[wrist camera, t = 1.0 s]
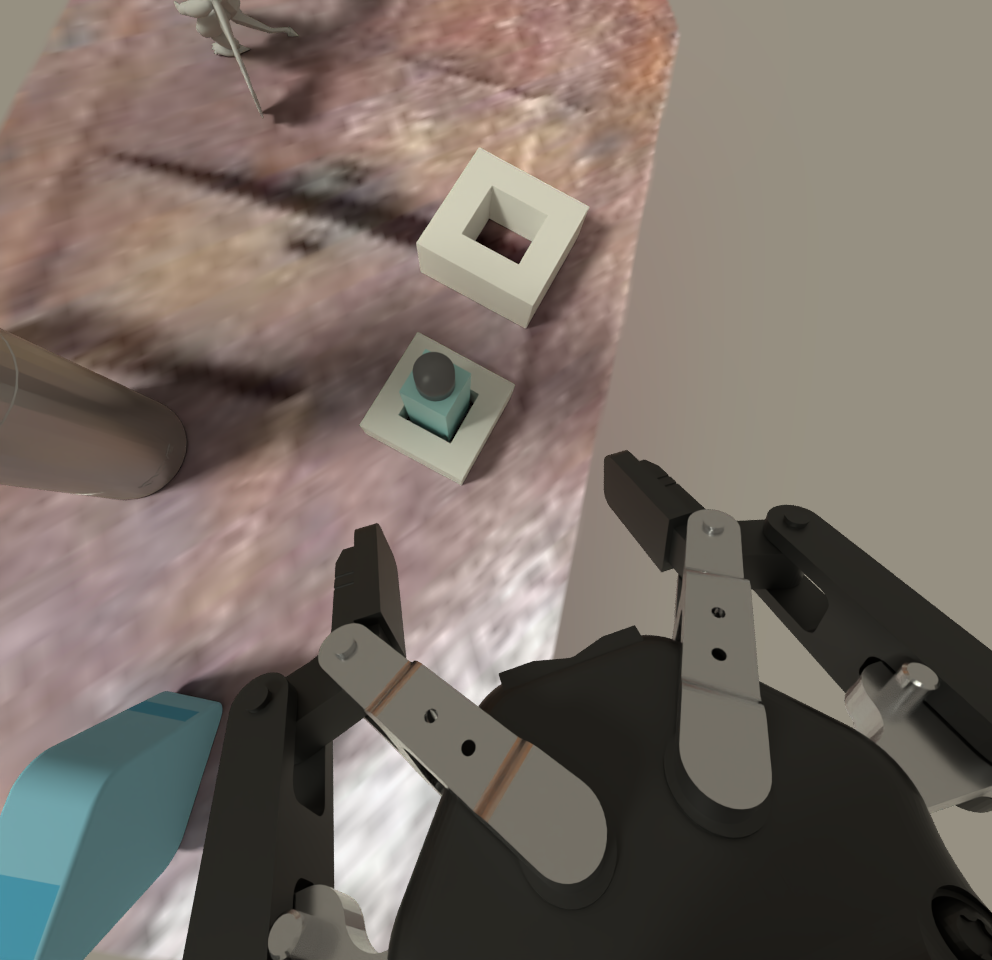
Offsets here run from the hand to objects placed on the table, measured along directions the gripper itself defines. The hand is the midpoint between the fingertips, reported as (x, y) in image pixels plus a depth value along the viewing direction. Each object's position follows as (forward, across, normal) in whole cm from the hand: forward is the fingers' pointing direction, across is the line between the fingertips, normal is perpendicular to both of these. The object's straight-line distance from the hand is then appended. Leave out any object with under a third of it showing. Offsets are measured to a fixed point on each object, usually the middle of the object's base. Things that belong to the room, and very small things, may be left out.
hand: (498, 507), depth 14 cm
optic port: (+35, -10, -2) cm, 37 cm away
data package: (+9, +28, +25) cm, 39 cm away
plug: (+25, 0, +9) cm, 26 cm away
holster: (+25, 0, +9) cm, 26 cm away
